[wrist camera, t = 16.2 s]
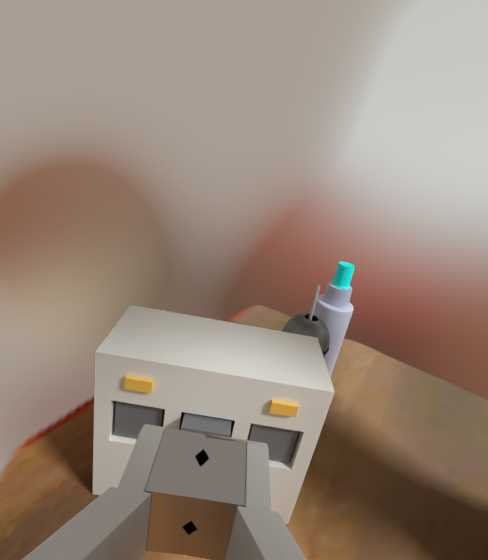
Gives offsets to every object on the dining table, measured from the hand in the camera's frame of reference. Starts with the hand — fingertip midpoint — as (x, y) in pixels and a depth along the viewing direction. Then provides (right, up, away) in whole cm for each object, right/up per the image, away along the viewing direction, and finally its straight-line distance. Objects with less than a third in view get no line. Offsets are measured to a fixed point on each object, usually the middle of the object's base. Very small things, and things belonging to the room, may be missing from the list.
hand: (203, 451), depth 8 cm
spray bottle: (+13, -14, +53) cm, 56 cm away
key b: (+3, -13, +27) cm, 30 cm away
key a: (-9, -11, +27) cm, 30 cm away
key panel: (-4, -18, +32) cm, 37 cm away
